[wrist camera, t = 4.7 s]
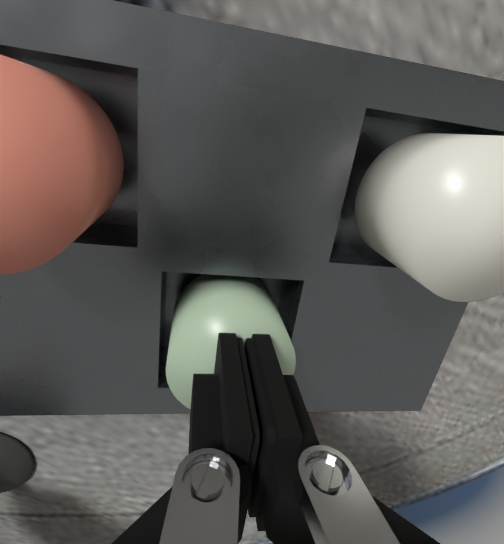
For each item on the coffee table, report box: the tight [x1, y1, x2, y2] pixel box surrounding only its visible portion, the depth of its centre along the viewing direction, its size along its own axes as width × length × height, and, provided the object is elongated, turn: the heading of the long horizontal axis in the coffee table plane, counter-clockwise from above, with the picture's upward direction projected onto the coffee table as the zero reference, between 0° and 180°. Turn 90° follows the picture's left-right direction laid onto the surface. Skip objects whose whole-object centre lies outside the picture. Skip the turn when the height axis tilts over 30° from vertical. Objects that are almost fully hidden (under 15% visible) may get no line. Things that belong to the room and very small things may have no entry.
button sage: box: [166, 274, 296, 410], centre depth 13 cm, size 4×4×4 cm
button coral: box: [0, 54, 124, 275], centre depth 8 cm, size 4×4×4 cm
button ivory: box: [355, 133, 504, 302], centre depth 10 cm, size 4×4×4 cm
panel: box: [0, 0, 504, 416], centre depth 13 cm, size 20×14×4 cm
